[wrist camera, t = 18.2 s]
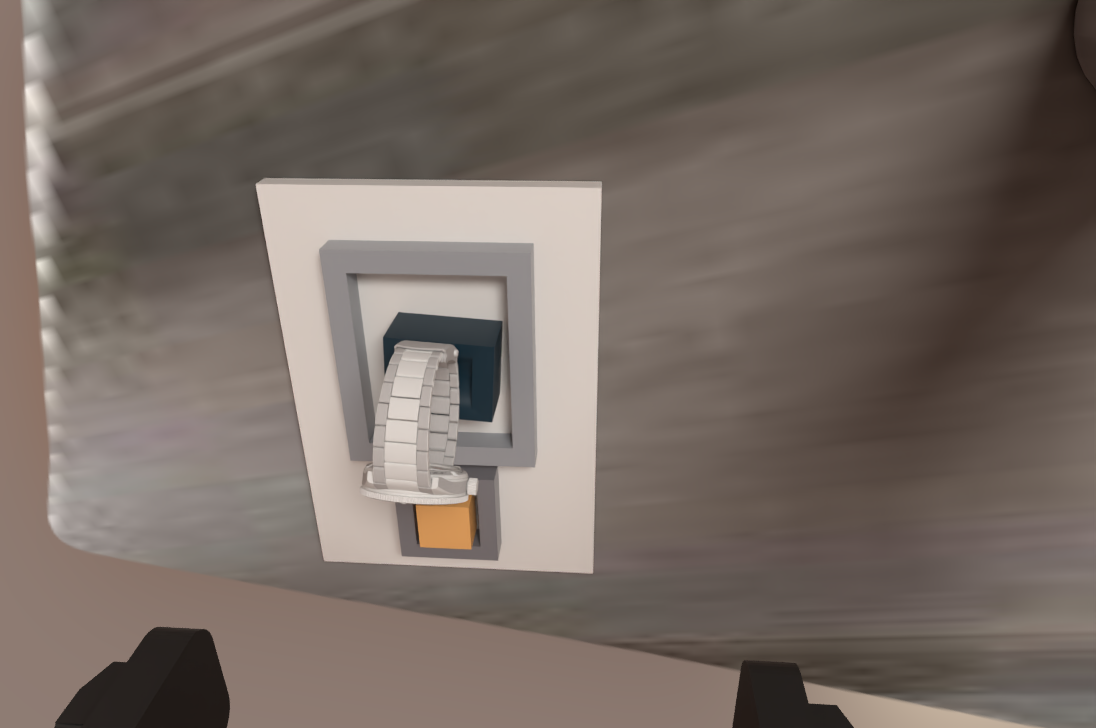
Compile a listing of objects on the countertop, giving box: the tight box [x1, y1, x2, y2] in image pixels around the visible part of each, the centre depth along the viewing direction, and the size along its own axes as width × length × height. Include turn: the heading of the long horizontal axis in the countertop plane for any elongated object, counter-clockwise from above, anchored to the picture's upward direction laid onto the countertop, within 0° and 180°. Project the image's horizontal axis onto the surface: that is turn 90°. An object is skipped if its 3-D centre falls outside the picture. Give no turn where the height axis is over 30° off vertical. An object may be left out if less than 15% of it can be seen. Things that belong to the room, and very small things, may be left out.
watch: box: [360, 312, 503, 505], centre depth 37 cm, size 6×8×11 cm
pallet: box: [256, 178, 602, 573], centre depth 43 cm, size 24×17×3 cm
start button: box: [416, 495, 477, 549], centre depth 45 cm, size 3×3×2 cm
